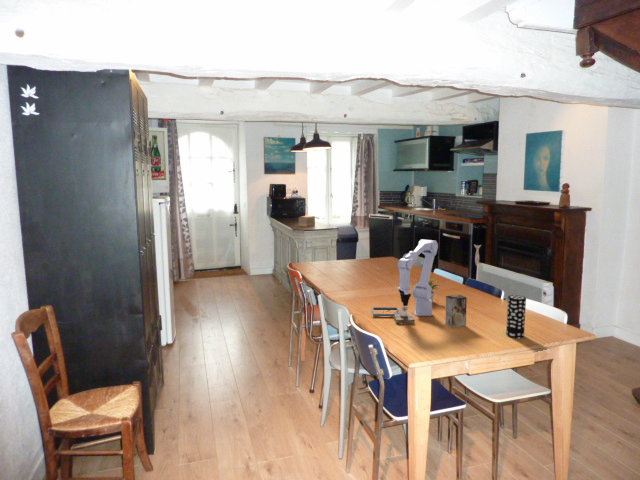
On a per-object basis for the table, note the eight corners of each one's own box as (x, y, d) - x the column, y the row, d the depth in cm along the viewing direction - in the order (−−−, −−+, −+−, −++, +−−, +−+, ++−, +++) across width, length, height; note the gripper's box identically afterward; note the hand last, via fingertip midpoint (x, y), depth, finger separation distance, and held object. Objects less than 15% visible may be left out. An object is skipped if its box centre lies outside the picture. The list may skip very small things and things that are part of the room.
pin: (407, 320, 260) (407, 306, 259) (408, 322, 256) (408, 308, 255) (400, 320, 260) (400, 306, 259) (401, 322, 257) (401, 308, 255)
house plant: (422, 305, 288) (422, 280, 286) (412, 300, 302) (412, 275, 299) (442, 303, 292) (443, 278, 290) (431, 298, 305) (432, 274, 303)
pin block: (411, 318, 263) (411, 314, 263) (414, 324, 253) (414, 319, 253) (394, 318, 263) (394, 314, 263) (396, 324, 254) (396, 319, 253)
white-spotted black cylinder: (519, 332, 238) (521, 295, 235) (527, 338, 230) (529, 299, 227) (503, 333, 238) (505, 295, 235) (510, 338, 230) (512, 299, 227)
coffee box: (459, 322, 255) (460, 294, 253) (466, 326, 249) (467, 297, 247) (444, 324, 253) (445, 295, 251) (451, 327, 247) (452, 298, 245)
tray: (397, 310, 279) (397, 307, 279) (400, 317, 265) (400, 314, 265) (371, 310, 280) (371, 307, 280) (372, 317, 266) (372, 313, 266)
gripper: (396, 277, 262) (395, 300, 264) (399, 283, 248) (398, 307, 250) (408, 277, 262) (408, 300, 264) (412, 283, 248) (411, 307, 250)
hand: (404, 303), depth 257 cm, fingers open, 7 cm apart
